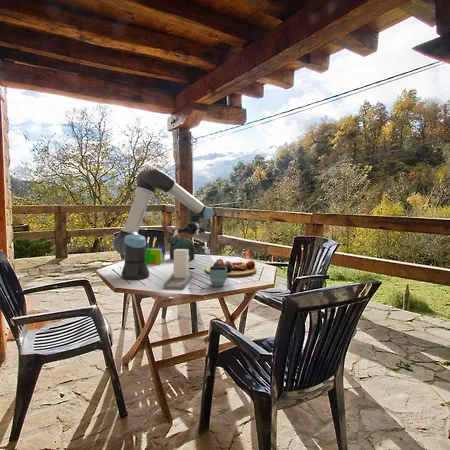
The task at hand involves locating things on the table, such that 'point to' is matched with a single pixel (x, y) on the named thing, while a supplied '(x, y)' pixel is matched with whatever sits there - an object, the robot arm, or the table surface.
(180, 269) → the cream block
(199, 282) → the table surface
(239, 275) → the wooden plate with food
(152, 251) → the puzzle toy
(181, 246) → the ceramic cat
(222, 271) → the flower pot
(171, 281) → the grey chute
